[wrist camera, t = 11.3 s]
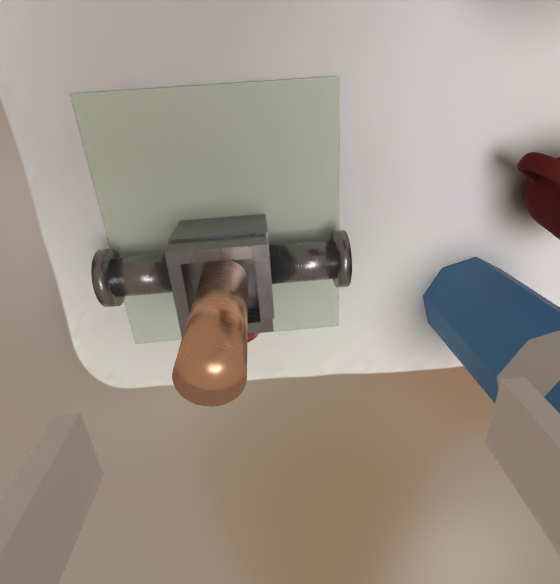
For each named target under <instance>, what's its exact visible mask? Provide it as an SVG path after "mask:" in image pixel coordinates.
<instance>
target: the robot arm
mask: <svg viewBox="0 0 560 584" xmlns="http://www.w3.org/2000/svg"><path fill="white" fill-rule="evenodd" d="M486 444H487V446H488V447H489V449H490V450H491V452H492V453H493V455H494V456H495V458H496V459H497V461H498V462H499V464H500V465H501V467H502V469H503V470H504V471H505V473H506V475H507V476H508V478H509V479H510V481H511V482H512V484H513V485H514V487H515V488H516V490H517V491H518V493H519V494H520V496H521V497H522V499H523V501H524V502H525V504H526V505H527V507H528V508H529V509H530V511H531V513H532V514H533V516H534V517H535V519H536V520H537V522H538V523H539V525H540V526H541V528H542V529H543V531H544V533H545V534H546V535H547V537H548V539H549V540H550V542H551V543H552V544H553V546H554V548H555V549H556V551H557V552H558V554H559V555H560V414H559V413H558V412H557V410H556V409H555V408H554V407H553V406H552V405H551V404H550V403H549V402H548V401H547V400H546V399H545V398H544V397H543V396H542V395H541V394H540V393H539V392H538V390H537V389H536V388H535V387H534V386H533V385H532V384H531V383H530V382H529V381H528V380H527V379H526V378H512V379H501V382H500V386H499V390H498V394H497V398H496V402H495V406H494V410H493V414H492V418H491V422H490V426H489V430H488V433H487V437H486ZM103 474H104V472H103V470H102V467H101V465H100V462H99V459H98V457H97V454H96V452H95V449H94V446H93V444H92V441H91V439H90V436H89V433H88V431H87V428H86V426H85V423H84V420H83V418H82V415H81V413H69V414H56V415H55V416H54V418H53V419H52V421H51V422H50V424H49V425H48V427H47V429H46V430H45V432H44V433H43V435H42V436H41V438H40V440H39V441H38V443H37V444H36V446H35V447H34V449H33V450H32V452H31V454H30V455H29V457H28V458H27V460H26V461H25V463H24V465H23V466H22V468H21V469H20V471H19V472H18V474H17V475H16V477H15V479H14V480H13V482H12V483H11V485H10V486H9V488H8V489H7V491H6V493H5V494H4V496H3V497H2V499H1V500H0V584H59V582H60V579H61V577H62V574H63V572H64V570H65V567H66V565H67V562H68V560H69V557H70V555H71V552H72V550H73V547H74V545H75V543H76V540H77V538H78V535H79V533H80V531H81V528H82V525H83V523H84V521H85V518H86V516H87V513H88V511H89V509H90V506H91V503H92V501H93V499H94V496H95V494H96V491H97V489H98V487H99V484H100V482H101V479H102V477H103Z"/></svg>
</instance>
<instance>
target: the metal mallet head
mask: <svg viewBox="0 0 560 584" xmlns="http://www.w3.org/2000/svg"><path fill="white" fill-rule="evenodd" d="M168 243H169V246H168V248H167V250H166V251H165V253H164V254H152V255H139V256H127V257H120V255H119V253H118V252H117V251H116V250H115V249H101V250H98V251H97V252H96V253H95V255H94V257H93V261H92V283H93V288H94V291H95V294H96V297H97V299H98V300H99V302H100V303H101V304H102V305H103V306H104V307H112V306H120V305H121V304H122V303H123V301H124V299H125V297H126V296H138V295H150V294H162V293H173V297H174V302H175V307H176V312H177V317H178V322H179V327H180V332H181V337H182V338H183V334H184V331H185V328H186V324H187V321H188V317H189V314H190V311H191V307H192V304H193V300H194V297H195V294H196V290H197V287H198V284H199V280H200V277H201V274H202V271H203V269H204V268H205V267H206V266H207V265H208V264H209V263H211V262H214V261H226V260H232V261H235V262H237V263H238V264H240V265H241V266H242V267H243V268H244V270H245V272H246V274H247V277H248V324H247V342H250V341H251V340H253V339H254V338H256V337H257V335H258V334H259V333H262V332H273V331H274V330H273V319H275V318H274V305H273V292H272V284H281V283H292V282H304V281H316V280H328V279H333V282H334V285H335V287H348V286H349V285H350V282H351V275H352V258H351V248H350V243H349V238H348V235H347V233H346V231H345V230H340V231H332V232H331V235H330V240H326V241H313V242H301V243H288V244H276V245H269V240H268V230H267V222H266V215H265V214H255V215H243V216H230V217H217V218H204V219H191V220H180V221H179V223H178V225H177V226H176V228H175V229H174V231H173V233H172V234H171V236H170V237H169V239H168Z"/></svg>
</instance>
